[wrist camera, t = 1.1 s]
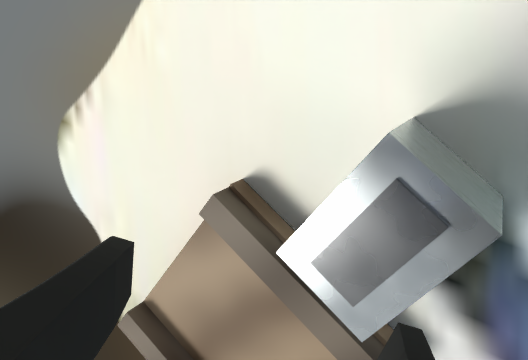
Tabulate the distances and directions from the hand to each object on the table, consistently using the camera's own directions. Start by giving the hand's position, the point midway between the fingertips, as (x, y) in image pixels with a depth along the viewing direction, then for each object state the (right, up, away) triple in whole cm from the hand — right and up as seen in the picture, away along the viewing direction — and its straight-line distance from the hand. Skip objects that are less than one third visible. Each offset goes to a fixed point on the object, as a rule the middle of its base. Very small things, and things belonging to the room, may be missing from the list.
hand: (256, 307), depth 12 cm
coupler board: (0, -5, +15) cm, 16 cm away
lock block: (+7, +2, +9) cm, 12 cm away
